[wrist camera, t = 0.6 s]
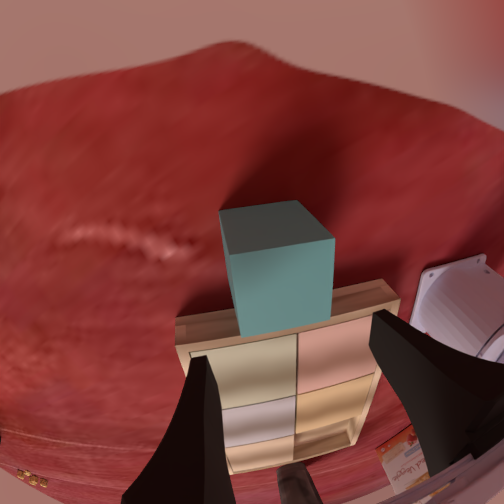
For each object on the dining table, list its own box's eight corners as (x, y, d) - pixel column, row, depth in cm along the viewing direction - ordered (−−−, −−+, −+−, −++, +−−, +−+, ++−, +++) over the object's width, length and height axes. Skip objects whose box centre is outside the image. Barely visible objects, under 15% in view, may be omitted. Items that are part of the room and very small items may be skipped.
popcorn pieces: (49, 479, 35) (48, 487, 34) (35, 479, 36) (34, 486, 34) (29, 467, 33) (27, 475, 31) (16, 467, 33) (14, 475, 31)
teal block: (296, 199, 20) (335, 238, 14) (298, 267, 22) (330, 319, 17) (218, 210, 19) (229, 255, 14) (228, 279, 21) (241, 337, 16)
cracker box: (438, 400, 39) (496, 493, 21) (446, 406, 42) (498, 490, 23) (372, 449, 42) (416, 543, 24) (385, 451, 45) (426, 536, 26)
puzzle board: (175, 317, 22) (174, 345, 19) (381, 278, 24) (400, 298, 21) (224, 455, 33) (227, 475, 31) (347, 427, 35) (355, 444, 33)
